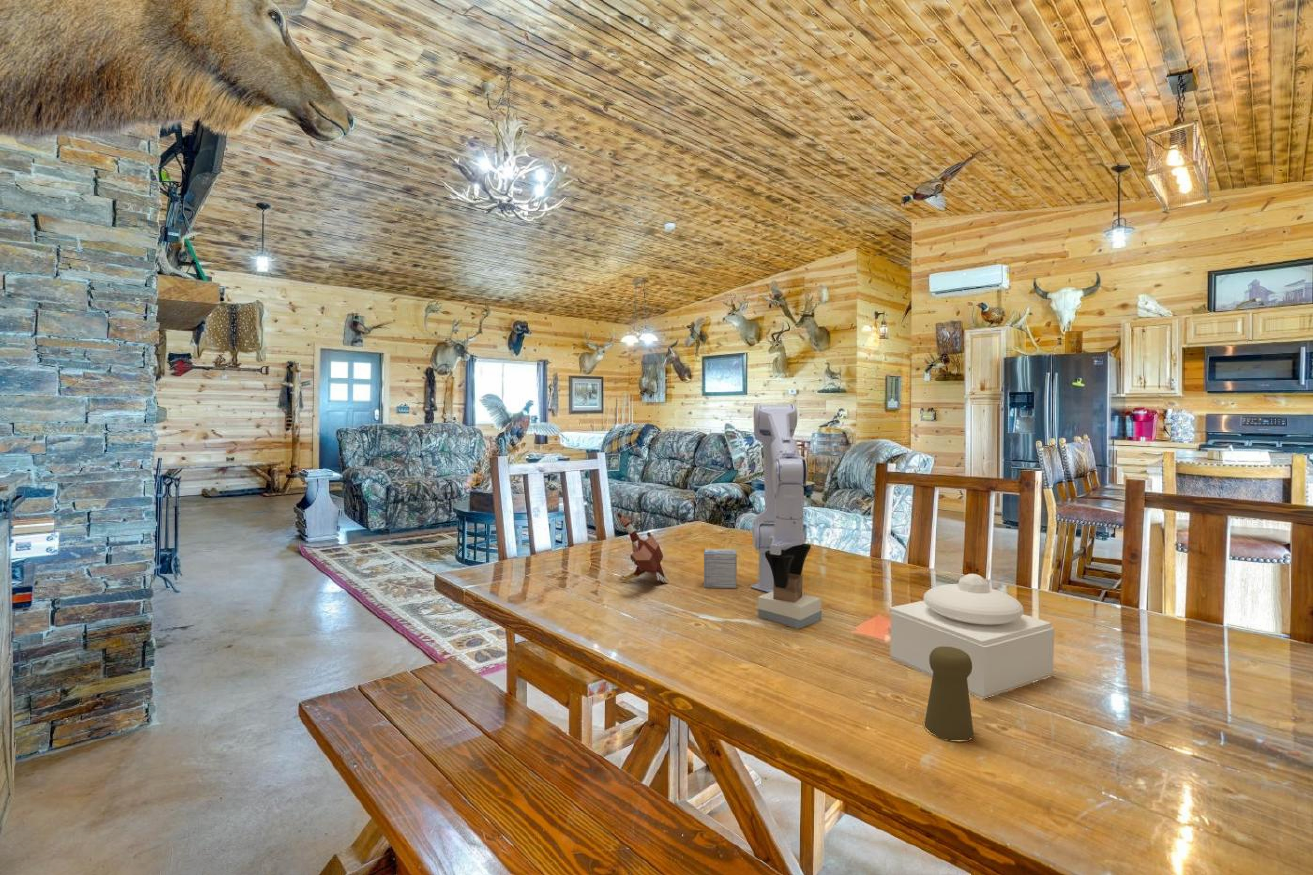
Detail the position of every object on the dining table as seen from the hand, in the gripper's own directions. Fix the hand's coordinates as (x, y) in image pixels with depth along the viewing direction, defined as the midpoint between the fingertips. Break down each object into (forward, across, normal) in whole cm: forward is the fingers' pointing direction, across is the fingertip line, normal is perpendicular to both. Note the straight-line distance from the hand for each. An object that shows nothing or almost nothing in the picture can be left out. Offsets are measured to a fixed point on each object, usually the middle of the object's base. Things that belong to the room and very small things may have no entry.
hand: (787, 582), depth 127 cm
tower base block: (+8, -1, 0) cm, 8 cm away
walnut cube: (+3, 0, 0) cm, 3 cm away
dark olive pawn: (+8, +30, +34) cm, 46 cm away
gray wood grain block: (+8, -13, -22) cm, 27 cm away
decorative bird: (+8, -6, -40) cm, 41 cm away
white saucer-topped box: (+8, +6, +34) cm, 35 cm away
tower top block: (+6, 0, 0) cm, 6 cm away
